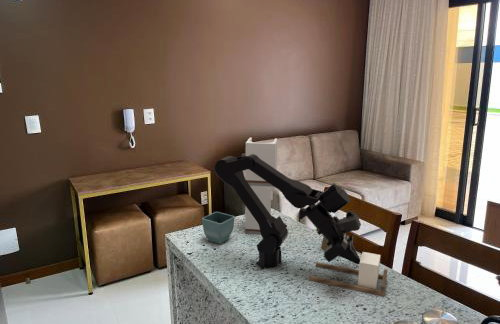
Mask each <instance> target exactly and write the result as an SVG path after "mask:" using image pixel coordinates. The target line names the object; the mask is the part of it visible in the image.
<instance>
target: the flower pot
mask: <svg viewBox="0 0 500 324" xmlns="http://www.w3.org/2000/svg"><path fill="white" fill-rule="evenodd" d="M235 219H236V217H235V215H231V214H228V213H224V212H220V211H214V212H213V213H210V214H208V215H206V216H203V217H202V218H201V222H202V229H203V233H204V235H205V237H206V239H207V240H208V241H209V242H212V243H216V244H219V245H220V244H222V243H224V242H226V241H227V240H229V238H230V236H231V235H232V233H233V230H234V225H235Z"/></svg>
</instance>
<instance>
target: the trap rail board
mask: <svg viewBox="0 0 500 324" xmlns="http://www.w3.org/2000/svg"><path fill="white" fill-rule="evenodd" d="M315 267H316V268H321V269H326V270H329V271H334V272H341V273H346V274H351V275H355V276H359V269H356V268H355V269H353V268H349V267H344V266H339V265H334V264H330V263H324V262H320V261H319V262H318V261H316V263H315ZM387 277H388V269H384V270H383V274H380V273H379V277H378V280H380V281H381V287H380V289H372V288H367V287H362V286H358V284H353V283H352V284H351V283H347V282H343V281H339V280H334V279H329V278H328V279H327V278H323V277H318V276H315V275H314V276H313V275H309V276H308V282H309V281H310V282H314V283H319V284H322V285H327V286H333V287H337V288H341V289H346V290H351V291H355V292H360V293H365V294H369V295H373V296H374V295H375V296H378V297H379V296H380V297H385V292H386V284H387V279H388V278H387Z"/></svg>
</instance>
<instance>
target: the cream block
mask: <svg viewBox="0 0 500 324" xmlns="http://www.w3.org/2000/svg"><path fill="white" fill-rule="evenodd" d="M380 263H381V254H377V253H371V252H365V251H362V254H361V256H360V264H358V266H359V267H358V270H359V275H357V276H358V278H357V285H358V286H362V287H367V288H372V289H377V287H378V284H379V279H378V277H379V274H380V266H381V264H380ZM377 290H378V289H377Z"/></svg>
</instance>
